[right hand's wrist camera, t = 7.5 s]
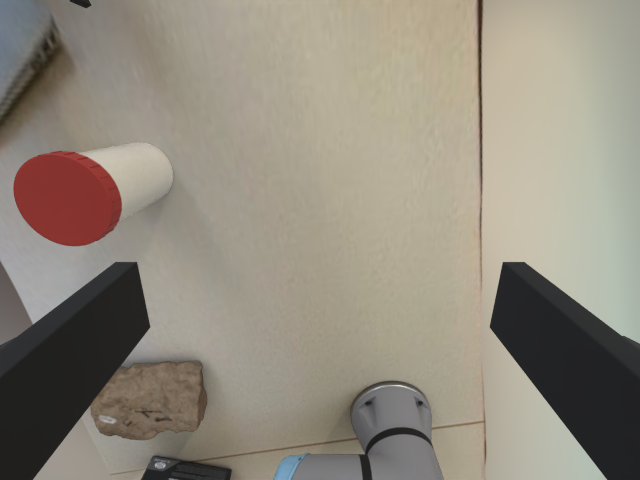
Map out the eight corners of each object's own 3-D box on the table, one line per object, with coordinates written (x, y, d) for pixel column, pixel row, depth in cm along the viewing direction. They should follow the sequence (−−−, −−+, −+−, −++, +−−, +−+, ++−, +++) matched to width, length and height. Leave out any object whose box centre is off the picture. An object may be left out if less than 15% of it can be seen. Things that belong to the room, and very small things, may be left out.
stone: (92, 430, 65) (75, 453, 60) (86, 355, 64) (68, 372, 58) (209, 419, 69) (204, 440, 63) (206, 348, 67) (201, 363, 61)
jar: (107, 187, 53) (16, 221, 37) (121, 131, 50) (27, 143, 34) (164, 210, 54) (99, 253, 38) (180, 157, 51) (117, 180, 35)
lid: (23, 219, 38) (6, 225, 36) (36, 134, 35) (19, 136, 33) (111, 252, 40) (100, 260, 38) (132, 174, 37) (121, 178, 35)
